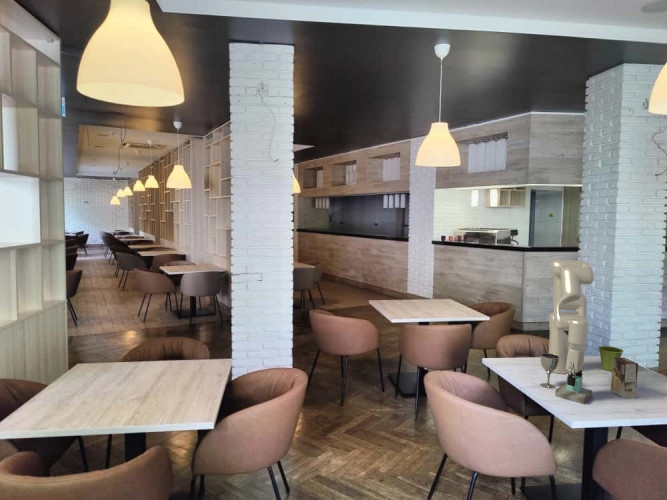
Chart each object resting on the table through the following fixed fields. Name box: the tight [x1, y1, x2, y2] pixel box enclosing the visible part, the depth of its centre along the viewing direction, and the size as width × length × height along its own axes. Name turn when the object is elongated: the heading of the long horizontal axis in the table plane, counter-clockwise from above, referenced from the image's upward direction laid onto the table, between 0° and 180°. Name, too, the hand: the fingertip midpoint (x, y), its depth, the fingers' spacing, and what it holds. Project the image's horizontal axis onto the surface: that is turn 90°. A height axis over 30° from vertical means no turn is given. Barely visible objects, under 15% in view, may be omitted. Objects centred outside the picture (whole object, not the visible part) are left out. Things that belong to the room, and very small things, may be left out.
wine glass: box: [539, 352, 559, 390], centre depth 219 cm, size 8×8×15 cm
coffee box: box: [610, 357, 639, 399], centre depth 211 cm, size 9×6×16 cm
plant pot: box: [597, 345, 624, 372], centre depth 245 cm, size 12×12×11 cm
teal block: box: [566, 376, 584, 393], centre depth 207 cm, size 5×5×6 cm
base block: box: [554, 382, 593, 405], centre depth 207 cm, size 12×12×3 cm
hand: (574, 382), depth 207 cm, fingers open, 9 cm apart
